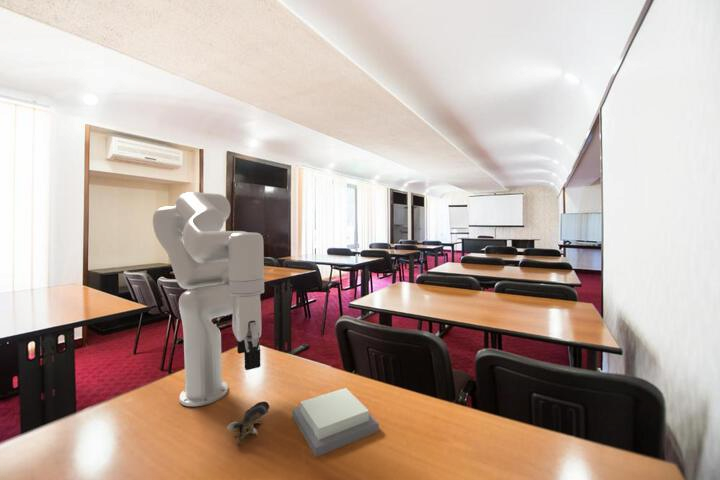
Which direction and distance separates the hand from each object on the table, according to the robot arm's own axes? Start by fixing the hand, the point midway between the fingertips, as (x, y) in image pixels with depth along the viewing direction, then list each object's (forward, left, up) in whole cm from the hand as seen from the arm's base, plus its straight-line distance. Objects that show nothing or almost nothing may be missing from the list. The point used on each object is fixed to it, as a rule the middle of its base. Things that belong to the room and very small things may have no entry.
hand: (248, 359), depth 70 cm
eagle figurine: (-1, 0, -19) cm, 19 cm away
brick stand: (+6, +19, -19) cm, 27 cm away
